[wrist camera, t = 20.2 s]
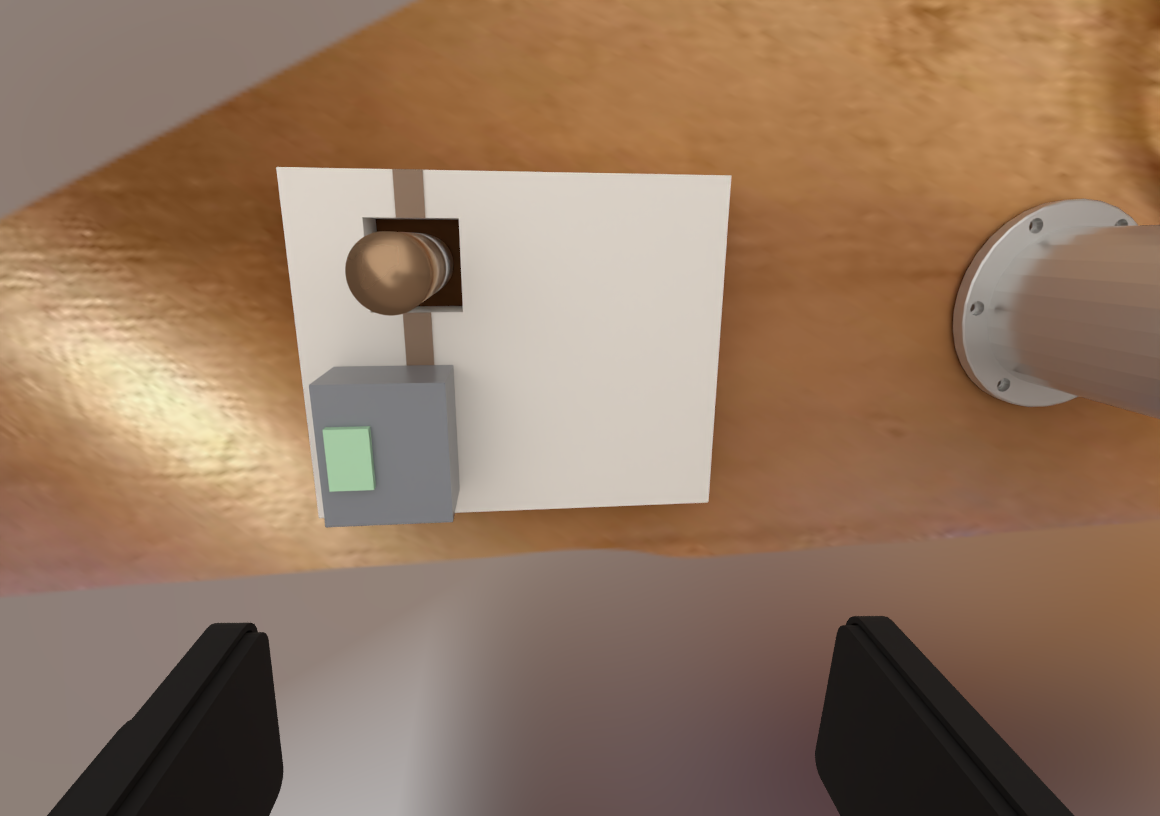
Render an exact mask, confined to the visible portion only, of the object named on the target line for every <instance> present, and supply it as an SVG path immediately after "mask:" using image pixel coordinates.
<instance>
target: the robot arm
mask: <svg viewBox="0 0 1160 816" xmlns="http://www.w3.org/2000/svg"><path fill="white" fill-rule="evenodd" d="M953 336H954V342H955V349H956V352H957V355H958V357H959V360H960V363H961V365H962V367H963V369H964V370H965V372H966V373H967V375H968V376H969V378H970V379H971V380H972V381H973V382H974V383H975V384H976V385H977V386H978V387H979V388H980V389H981V390H983V391H984V392H986V393H988V394H989V395H991V396H993V397H995V398H997V399H1000V400H1003V401H1006V402H1009V403H1011V404H1015V405H1021V406H1026V407H1046V406H1051V405H1056V404H1060V403H1064V402H1067V401H1069V400H1072V399H1074V398H1076V397H1083V398H1086V399H1090V400H1093V401H1097V402H1100V403H1104V404H1108V405H1111V406H1115V407H1118V408H1122V409H1125V410H1129V411H1133V412H1136V413H1140V414H1143V415H1147V416H1150V417H1154V418H1157V419H1160V225H1138V224H1137V223H1136V222H1135V221H1134V220H1133V218H1132V217H1130V216H1129V215H1128V214H1126V213H1125V212H1123V211H1122V210H1121V209H1119V208H1118V207H1115V206H1113V205H1110V204H1108V203H1105V202H1103V201H1097V200H1089V199H1070V200H1059V201H1054V202H1049V203H1044V204H1041V205H1039V206H1036V207H1034V208H1032V209H1029V210H1027V211H1024V212H1023V213H1021V214H1020V215H1018V216H1016V217H1015V218H1013V219H1012V220H1010V221H1008V222H1007V223H1006V224H1005V225H1003V226H1002V227H1001V228H1000V229H999V230H998V231H997V232H996V233H994V234H993V235H992V236H991V237H990V238H989V239H988V241H987V242H986V243H985V244H984V246H983V247H982V248H981V249H980V250H979V252H978V253H977V254H976V256H975V258H974V259H973V261H972V263H971V264H970V266H969V268H968V269H967V271H966V273H965V276H964V278H963V281H962V283H961V286H960V288H959V291H958V294H957V299H956V303H955V308H954V315H953ZM815 760H816V766H817V770H818V773H819V776H820V778H821V780H822V782H823V784H824V786H825V787H826V789H827V791H828V793H829V795H830V797H831V799H832V801H833V803H834V804H835V806H836V808H837V810H838V812H839V814H840V816H1074V815H1073V814H1072V813H1071V812H1070V811H1069V809H1067V807H1066V806H1065V805H1064V804H1063V803H1062V802H1061V801H1060V800H1059V799H1058V798H1057V797H1056V796H1055V795H1054V793H1053V792H1052V791H1051V790H1050V789H1049V788H1048V787H1047V786H1046V785H1045V784H1044V783H1043V782H1042V781H1041V780H1040V778H1039V777H1038V776H1037V775H1036V774H1035V773H1034V772H1033V771H1032V770H1031V769H1030V768H1029V767H1028V766H1027V765H1026V763H1024V761H1023V760H1022V759H1021V758H1020V757H1019V756H1018V755H1017V754H1016V753H1015V752H1014V751H1013V750H1012V749H1011V747H1010V746H1009V745H1008V744H1007V743H1006V742H1005V741H1004V740H1003V739H1002V738H1001V737H1000V736H999V735H998V734H997V733H996V732H995V730H994V729H993V728H992V727H991V726H990V725H989V724H988V723H987V722H986V721H985V720H984V719H983V717H982V716H980V714H979V713H978V712H977V711H976V710H975V709H974V708H973V707H972V706H971V705H970V704H969V702H968V701H967V700H966V699H965V698H964V697H963V696H962V695H961V694H960V693H959V692H958V691H957V690H956V689H955V687H954V686H952V684H951V683H950V682H949V681H948V680H947V679H946V678H945V677H944V676H943V675H942V674H941V673H940V671H939V670H938V669H937V668H936V667H935V666H934V665H933V664H932V663H931V662H930V661H929V660H928V659H927V658H926V657H925V655H924V654H923V653H922V652H921V651H920V650H919V649H918V648H917V647H916V646H915V645H914V644H913V642H911V640H910V639H909V638H908V637H907V636H906V635H905V634H904V633H903V632H902V631H901V630H900V629H899V628H898V627H897V626H896V624H895V623H894V622H893V621H892V620H890V619H889V618H888V617H885V616H854V617H851V618H849V620H848V621H847V623H846V625H843V626H840V628H839V629H838V632H837V636H836V641H835V647H834V652H833V657H832V663H831V668H830V674H829V679H828V685H827V691H826V696H825V702H824V707H823V712H822V717H821V723H820V728H819V734H818V740H817V745H816V751H815ZM282 779H283V762H282V752H281V744H280V735H279V727H278V717H277V709H276V700H275V692H274V683H273V675H272V665H271V657H270V648H269V640H268V636H267V635H266V633H264V632H258V631H257V628H256V626H255V624H253V623H214V624H211V625H210V626H209V627H208V628H207V629H206V630H205V631H204V633H203V634H202V635H201V636H200V637H199V639H198V640H197V641H196V642H195V643H194V645H193V646H192V647H191V648H190V649H189V651H188V652H187V653H186V654H185V656H184V657H183V658H182V659H181V660H180V662H179V663H178V664H177V666H176V667H175V668H174V669H173V670H172V671H171V672H170V674H169V675H168V676H167V677H166V679H165V680H164V681H163V682H162V683H161V685H160V686H159V687H158V688H157V690H156V691H155V692H154V693H153V694H152V696H151V697H150V698H149V699H148V700H147V702H146V703H145V704H144V705H143V706H142V708H141V709H140V710H139V711H138V712H137V714H136V715H135V716H134V717H133V718H132V720H130V721H128V722H127V723H126V724H125V725H123V726H122V727H121V728H120V729H119V730H118V731H117V733H116V734H115V735H114V736H113V737H112V739H111V740H110V741H109V742H108V743H107V745H106V746H105V747H104V748H103V749H102V751H101V752H100V753H99V754H98V755H97V756H96V758H95V759H94V760H93V761H92V762H91V764H90V765H89V766H88V767H87V769H86V770H85V771H84V772H83V773H82V774H81V776H80V777H79V778H78V779H77V781H76V782H75V783H74V784H73V785H72V786H71V788H70V789H69V790H68V791H67V792H66V794H65V795H64V796H63V797H62V798H61V800H60V801H59V802H58V803H57V805H56V806H55V807H54V808H53V809H52V810H51V812H50V813H49V814H48V815H47V816H269V815H270V813H271V810H272V808H273V806H274V804H275V801H276V799H277V797H278V794H279V791H280V788H281V784H282Z"/></svg>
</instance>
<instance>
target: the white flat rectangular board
mask: <svg viewBox="0 0 1160 816" xmlns="http://www.w3.org/2000/svg"><path fill="white" fill-rule="evenodd" d="M276 169H277V177H278V186H279V194H280V202H281V210H282V219H283V227H284V235H285V243H286V251H287V260H288V268H289V276H290V284H291V292H292V301H293V309H294V317H295V325H296V334H297V342H298V350H299V358H300V366H301V375H302V383H303V391H304V399H305V408H306V416H307V424H308V432H309V440H310V449H311V457H312V465H313V473H314V482H315V490H316V498H317V506H318V514H319V518H324V510H323V502H322V493H321V485H320V477H319V468H318V460H317V451H316V443H315V434H314V426H313V418H312V409H311V401H310V392H309V384H311V383H312V382H313V381H315V380H316V379H318V378H319V377H320V376H322V375H323V374H324V373H326V372H327V371H329V370H330V369H331V368H333V367H345V366H411V365H453V368H454V387H455V407H456V426H457V446H458V465H459V485H460V490H459V495H458V500H457V505H456V510H455V513H461V512H485V511H510V510H534V509H559V508H583V507H608V506H632V505H657V504H681V503H706V502H708V499H709V485H710V471H711V457H712V442H713V428H714V414H715V400H716V386H717V371H718V357H719V343H720V329H721V314H722V300H723V286H724V272H725V258H726V243H727V229H728V215H729V201H730V187H731V176H727V175H673V174H620V173H566V172H512V171H458V170H416V169H351V168H297V167H276ZM376 219H420V220H459V236H460V258H461V279H462V301H463V306H417V307H415V308H414V309H412V310H411V311H409V312H407V313H404V314H401V315H394V316H388V315H381V314H378V313H375V312H372V311H370V310H369V309H367V308H365V307H364V306H363V305H361V304H360V303H359V302H358V301H357V300H356V298H355V297H354V296H353V294H352V293H351V291H350V289H349V287H348V284H347V281H346V275H345V265H346V260H347V257H348V254H349V252H350V250H351V249H352V247H353V246H354V245H355V243H357V242H358V241H359V240H360V239H361V238H363V237H364V236H366V235H368V234H371V233H375V232H377V230H376Z"/></svg>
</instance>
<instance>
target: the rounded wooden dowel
mask: <svg viewBox="0 0 1160 816" xmlns="http://www.w3.org/2000/svg"><path fill="white" fill-rule="evenodd" d="M453 268H454V262H453V257H452V254H451V251H450V250H449V248H448V246H447V245H446V244H445V243H444V242H443V241H442V240H441V239H439V238H438V237H436V236H434V235H431V234H427V233H410V232H389V231H381V232H375V233H371V234H368V235H366V236H364V237H363V238H361V239H360V240H359V241H358V242H357V243H355V245H354V246H353V247H352V249H351V250H350V252H349V254H348V257H347V260H346V265H345V275H346V281H347V284H348V287H349V289H350V291H351V293H352V294H353V296H354V297H355V298H356V300H357V301H358V302H359V303H360V304H361V305H363V306H364V307H365V308H367V309H369V310H370V311H372V312H375V313H378V314H381V315H388V316H394V315H401V314H404V313H407V312H409V311H411V310H412V309H414V308H415V307H417V306H418V305H420V304H421V303H422V302H424V301H425V300H426V299H428V298H429V297H430V296H432V295H433V294H435V293H436V292H437V291H439V290H440V289H441V288H443V287H444V286H445V285H446V284H447V283H448V282H449V280H450V278H451V276H452V273H453Z"/></svg>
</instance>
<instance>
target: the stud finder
mask: <svg viewBox="0 0 1160 816" xmlns="http://www.w3.org/2000/svg"><path fill="white" fill-rule="evenodd" d="M309 392H310V401H311V409H312V418H313V426H314V434H315V443H316V451H317V460H318V468H319V477H320V485H321V493H322V502H323V510H324V519H325V527H345V526H369V525H392V524H416V523H440V522H453V519H454V515H455V510H456V505H457V500H458V495H459V490H460V485H459V465H458V446H457V426H456V407H455V387H454V368H453V365H411V366H345V367H333V368H331V369H330V370H329V371H327V372H326V373H324V374H323V375H322V376H320V377H319V378H318V379H316V380H315V381H313V382H312V383H311V384H309Z"/></svg>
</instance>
